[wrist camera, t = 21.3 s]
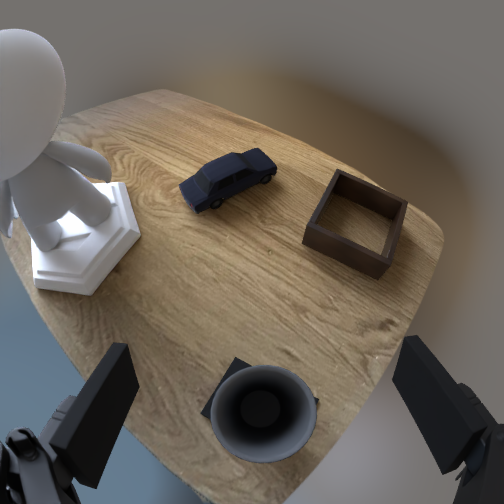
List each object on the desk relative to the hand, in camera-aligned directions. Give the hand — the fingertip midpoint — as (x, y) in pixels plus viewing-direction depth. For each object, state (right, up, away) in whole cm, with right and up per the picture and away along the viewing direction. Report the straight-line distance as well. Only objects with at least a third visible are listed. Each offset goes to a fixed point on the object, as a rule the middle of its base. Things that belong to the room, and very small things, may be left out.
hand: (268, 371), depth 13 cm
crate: (+14, +9, +29) cm, 33 cm away
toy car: (-4, +15, +33) cm, 37 cm away
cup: (0, -12, +17) cm, 21 cm away
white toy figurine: (-29, +8, +29) cm, 42 cm away
